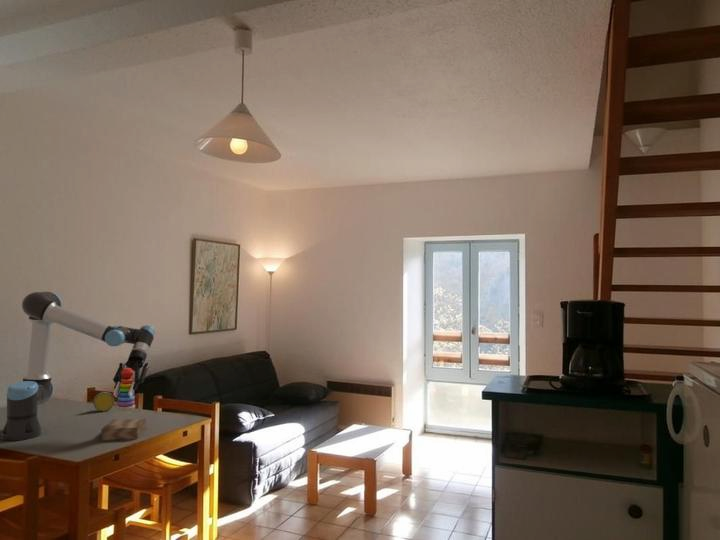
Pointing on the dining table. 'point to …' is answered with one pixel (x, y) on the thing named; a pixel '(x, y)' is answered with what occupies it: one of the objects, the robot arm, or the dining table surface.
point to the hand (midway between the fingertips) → (122, 395)
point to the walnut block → (123, 429)
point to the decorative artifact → (103, 401)
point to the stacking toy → (125, 391)
